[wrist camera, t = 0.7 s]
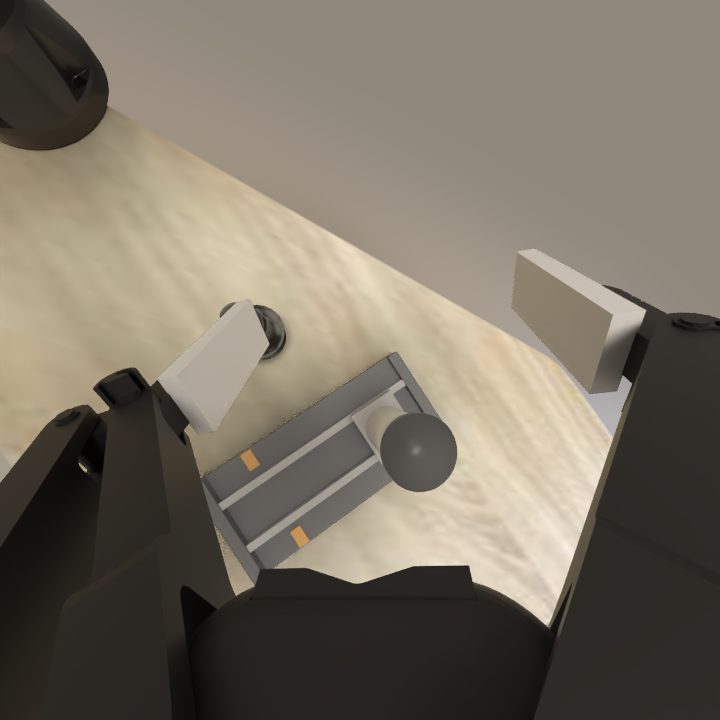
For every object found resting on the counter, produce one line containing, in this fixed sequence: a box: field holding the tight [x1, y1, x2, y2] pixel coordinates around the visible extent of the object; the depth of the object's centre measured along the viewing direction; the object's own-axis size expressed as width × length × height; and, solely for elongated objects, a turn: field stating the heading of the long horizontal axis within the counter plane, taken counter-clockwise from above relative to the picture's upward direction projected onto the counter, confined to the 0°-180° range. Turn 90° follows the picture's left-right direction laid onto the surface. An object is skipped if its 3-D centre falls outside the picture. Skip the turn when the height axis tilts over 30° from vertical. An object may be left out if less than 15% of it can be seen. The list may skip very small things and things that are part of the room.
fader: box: [350, 390, 457, 492], centre depth 26 cm, size 6×5×13 cm
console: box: [201, 352, 442, 585], centre depth 33 cm, size 12×26×3 cm, turn 123°
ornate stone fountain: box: [220, 302, 286, 359], centre depth 29 cm, size 6×6×12 cm
